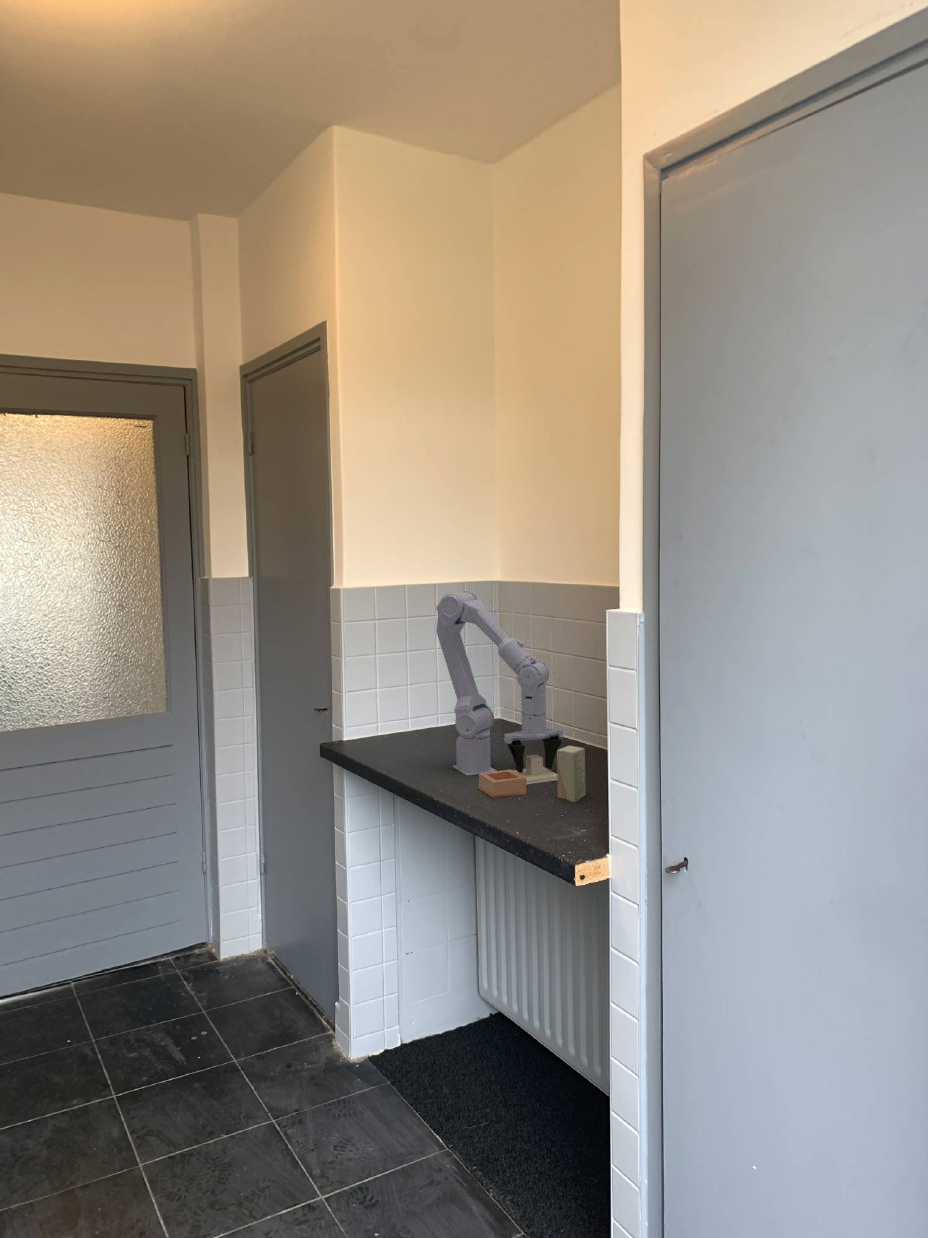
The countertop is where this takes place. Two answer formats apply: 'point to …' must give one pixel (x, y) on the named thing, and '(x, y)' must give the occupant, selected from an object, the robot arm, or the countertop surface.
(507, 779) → the dish
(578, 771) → the box
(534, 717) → the robot arm
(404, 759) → the countertop surface
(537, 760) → the lid
